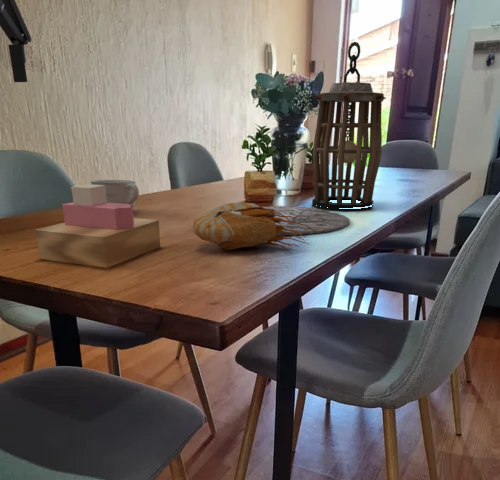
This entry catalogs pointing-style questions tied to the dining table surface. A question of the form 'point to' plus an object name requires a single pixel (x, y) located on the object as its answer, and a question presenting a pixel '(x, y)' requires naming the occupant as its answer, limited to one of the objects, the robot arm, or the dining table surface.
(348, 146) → the lantern
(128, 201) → the teacup
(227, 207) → the nautilus
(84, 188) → the pink-and-white stacked brick
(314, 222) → the grey-brown round placemat
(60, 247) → the block
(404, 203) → the dining table surface
